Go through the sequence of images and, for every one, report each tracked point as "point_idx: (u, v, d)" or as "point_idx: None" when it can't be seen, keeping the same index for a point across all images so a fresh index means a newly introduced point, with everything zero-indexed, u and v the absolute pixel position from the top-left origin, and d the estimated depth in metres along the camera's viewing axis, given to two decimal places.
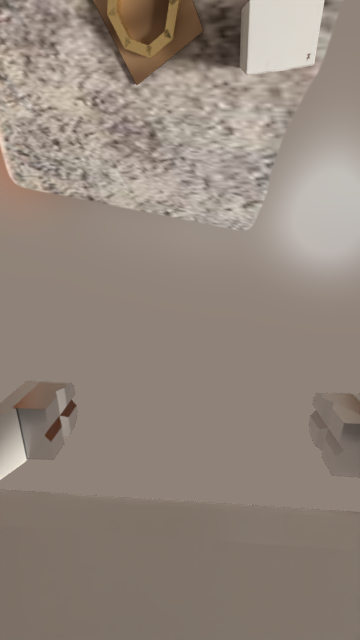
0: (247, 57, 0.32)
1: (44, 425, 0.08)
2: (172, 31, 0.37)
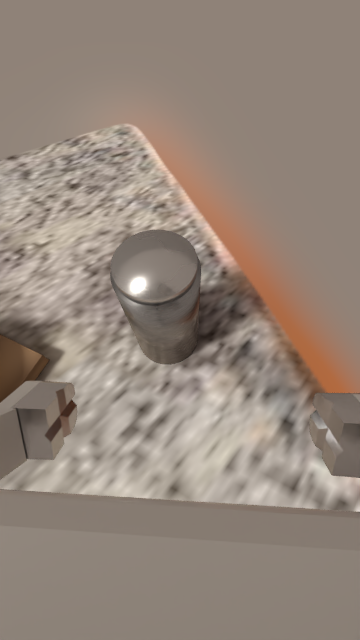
0: None
1: (44, 425, 0.08)
2: None
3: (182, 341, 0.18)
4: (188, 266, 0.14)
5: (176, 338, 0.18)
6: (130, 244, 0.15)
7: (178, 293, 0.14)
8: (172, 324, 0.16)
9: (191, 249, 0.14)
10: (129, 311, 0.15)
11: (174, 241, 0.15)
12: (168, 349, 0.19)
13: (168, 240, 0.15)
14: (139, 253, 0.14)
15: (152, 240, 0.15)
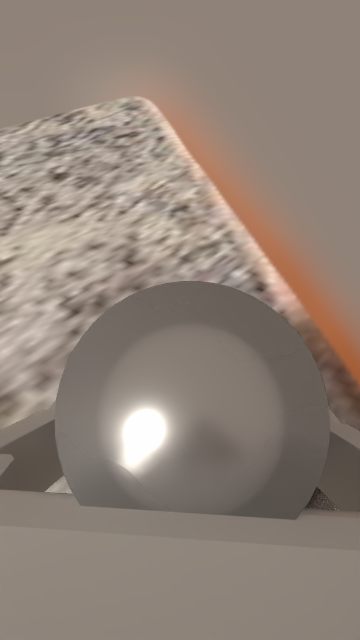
0: None
1: None
2: None
3: None
4: (301, 418, 0.04)
5: None
6: (121, 324, 0.05)
7: None
8: None
9: (301, 352, 0.05)
10: None
11: (247, 321, 0.05)
12: None
13: (229, 316, 0.05)
14: (145, 357, 0.05)
15: (184, 314, 0.05)
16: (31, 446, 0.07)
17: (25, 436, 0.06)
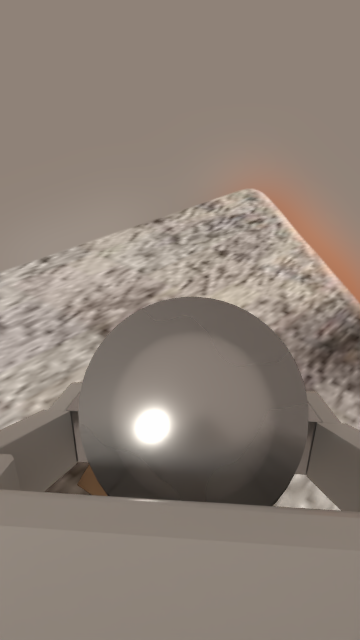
0: None
1: None
2: None
3: None
4: (284, 415, 0.05)
5: None
6: (133, 335, 0.06)
7: (261, 505, 0.05)
8: None
9: (286, 360, 0.06)
10: None
11: (241, 333, 0.06)
12: None
13: (225, 328, 0.06)
14: (154, 364, 0.06)
15: (186, 326, 0.06)
16: (31, 446, 0.07)
17: (25, 436, 0.06)
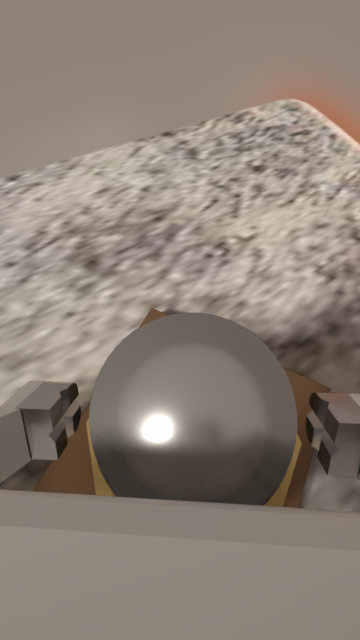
0: None
1: (49, 425, 0.08)
2: None
3: None
4: (276, 423, 0.06)
5: None
6: (138, 348, 0.07)
7: (254, 504, 0.05)
8: None
9: (278, 372, 0.06)
10: None
11: (236, 346, 0.07)
12: None
13: (222, 342, 0.07)
14: (157, 376, 0.06)
15: (187, 341, 0.07)
16: None
17: None
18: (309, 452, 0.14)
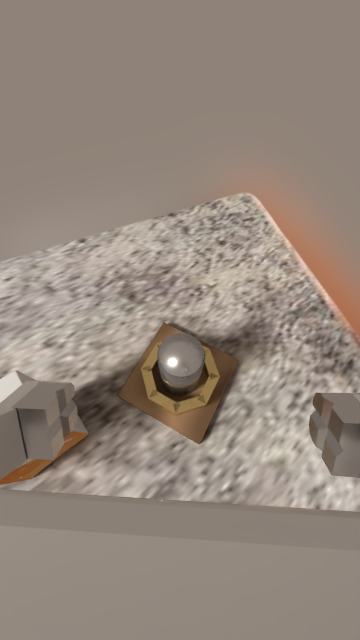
0: (22, 383, 0.24)
1: (44, 425, 0.08)
2: (143, 373, 0.34)
3: (190, 387, 0.32)
4: (199, 358, 0.27)
5: (187, 387, 0.31)
6: (169, 341, 0.28)
7: (193, 373, 0.27)
8: (187, 383, 0.29)
9: (201, 347, 0.28)
10: (165, 376, 0.28)
11: (192, 341, 0.28)
12: (181, 391, 0.32)
13: (189, 340, 0.28)
14: (173, 347, 0.28)
15: (180, 339, 0.28)
16: None
17: None
18: (226, 384, 0.36)
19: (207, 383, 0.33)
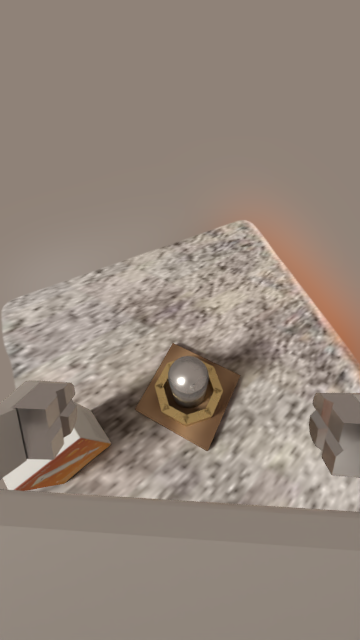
0: None
1: (44, 425, 0.08)
2: (156, 390, 0.39)
3: (197, 401, 0.37)
4: (203, 377, 0.32)
5: (195, 401, 0.36)
6: (177, 363, 0.33)
7: (198, 390, 0.32)
8: (194, 398, 0.34)
9: (204, 368, 0.33)
10: (175, 393, 0.33)
11: (197, 363, 0.33)
12: (190, 404, 0.37)
13: (194, 362, 0.33)
14: (181, 369, 0.33)
15: (187, 362, 0.33)
16: None
17: None
18: (229, 397, 0.41)
19: (212, 397, 0.38)
